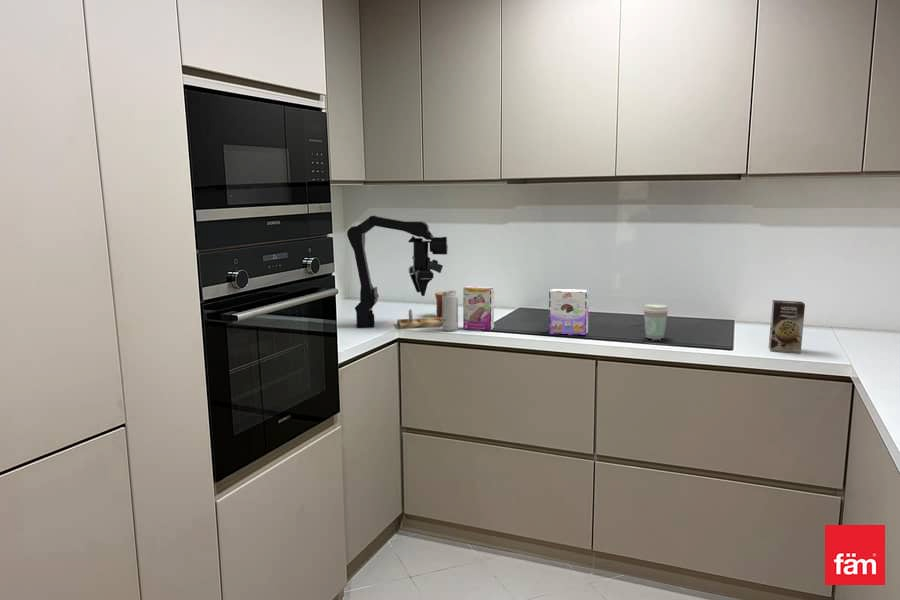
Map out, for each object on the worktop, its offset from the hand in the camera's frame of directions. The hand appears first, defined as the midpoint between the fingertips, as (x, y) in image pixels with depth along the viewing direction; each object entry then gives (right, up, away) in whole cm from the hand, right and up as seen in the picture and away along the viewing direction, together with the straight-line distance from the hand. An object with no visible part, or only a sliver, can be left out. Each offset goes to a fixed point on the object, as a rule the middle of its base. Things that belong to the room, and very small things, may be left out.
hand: (420, 294), depth 257 cm
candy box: (+55, -15, -13) cm, 59 cm away
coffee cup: (+84, -16, -23) cm, 89 cm away
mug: (+10, -10, +20) cm, 24 cm away
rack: (0, -12, +4) cm, 13 cm away
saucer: (-4, -13, +3) cm, 14 cm away
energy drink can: (+12, -14, -5) cm, 19 cm away
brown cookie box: (+121, -19, -42) cm, 129 cm away
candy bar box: (+23, -14, -4) cm, 27 cm away
